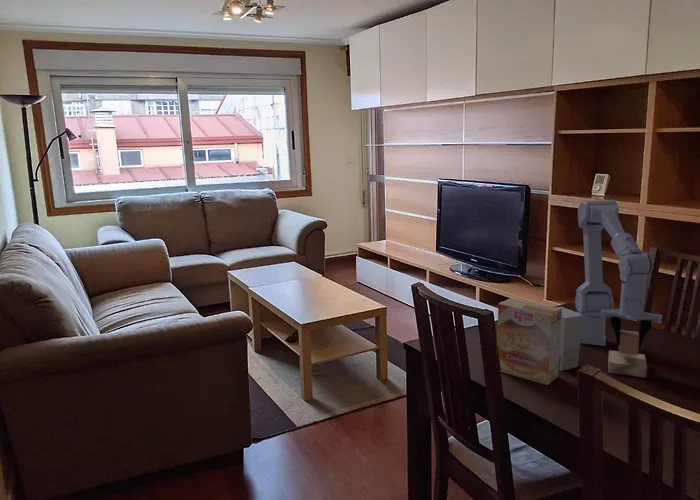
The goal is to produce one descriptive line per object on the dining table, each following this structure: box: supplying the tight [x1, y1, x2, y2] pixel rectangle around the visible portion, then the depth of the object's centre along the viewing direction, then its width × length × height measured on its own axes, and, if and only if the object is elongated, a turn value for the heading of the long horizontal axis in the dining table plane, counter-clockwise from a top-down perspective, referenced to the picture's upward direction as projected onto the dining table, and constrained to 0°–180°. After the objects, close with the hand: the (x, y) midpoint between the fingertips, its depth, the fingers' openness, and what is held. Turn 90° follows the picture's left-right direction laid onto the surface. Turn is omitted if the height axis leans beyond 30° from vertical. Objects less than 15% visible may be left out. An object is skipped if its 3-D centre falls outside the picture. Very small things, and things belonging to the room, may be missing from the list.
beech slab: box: [607, 349, 648, 378], centre depth 150 cm, size 9×9×3 cm
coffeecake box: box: [496, 297, 562, 386], centre depth 147 cm, size 15×7×20 cm, turn 47°
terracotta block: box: [618, 329, 639, 355], centre depth 149 cm, size 4×4×5 cm
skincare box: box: [556, 306, 583, 372], centre depth 153 cm, size 8×7×16 cm
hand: (628, 345), depth 149 cm, fingers closed on terracotta block, 4 cm apart
